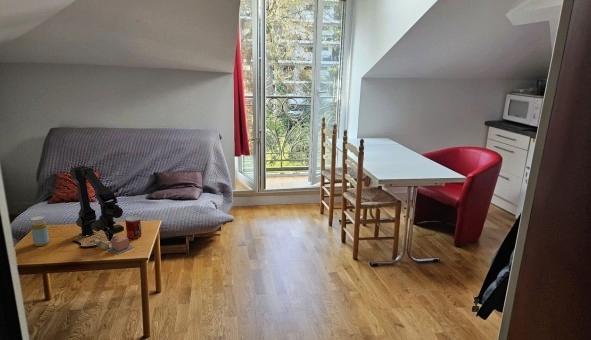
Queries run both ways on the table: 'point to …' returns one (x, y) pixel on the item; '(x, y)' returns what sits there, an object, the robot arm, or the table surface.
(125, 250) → the mat
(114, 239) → the block
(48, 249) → the table surface
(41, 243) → the bottle
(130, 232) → the canned food
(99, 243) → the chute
